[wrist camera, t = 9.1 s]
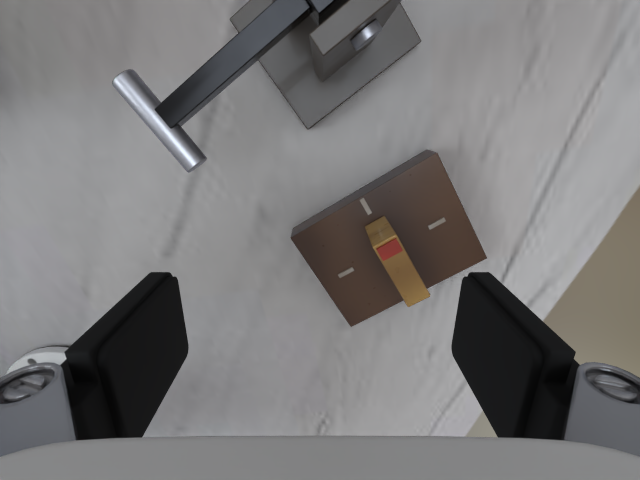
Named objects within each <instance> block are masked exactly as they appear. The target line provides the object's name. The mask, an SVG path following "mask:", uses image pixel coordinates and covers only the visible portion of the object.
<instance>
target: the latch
mask: <svg viewBox="0 0 640 480" xmlns="http://www.w3.org/2000/svg"><path fill="white" fill-rule="evenodd" d="M347 1H348V0H275V1H274V2H273V3H272V4H270V5H269V6H268V7H267V8H266V9H265V10H264V11H263V12H262V13H260V14H259V15H258V16H257V17H256V18H255V19H254V20H253V21H252V22H250V23H249V24H248V25H247V26H246V27H245V28H244V29H243V30H242V31H240V32H239V33H238V34H237V35H236V36H235V37H234V38H233V39H232V40H230V41H229V42H228V43H227V44H226V45H225V46H224V47H223V48H222V49H220V50H219V51H218V52H217V53H216V54H215V55H214V56H213V57H212V58H210V59H209V60H208V61H207V62H206V63H205V64H204V65H203V66H202V67H200V68H199V69H198V70H197V71H196V72H195V73H194V74H193V75H192V76H190V77H189V78H188V79H187V80H186V81H185V82H184V83H183V84H182V85H181V86H179V87H178V88H177V89H176V90H175V91H174V92H173V93H172V94H171V95H169V96H168V97H167V98H166V99H165V100H164V101H163V102H162V103H161V102H160V101H159V100H158V98H157V97H156V96H155V95H154V94H153V92H152V91H151V90H150V89H149V88H148V86H147V85H146V84H145V83H144V82H143V80H142V79H141V78H140V77H139V76H138V74H137V73H136V72H135V71H134V70H132V69H129V70H125V71H123V72H121V73H120V74H118V75H117V76H116V77H115V78H114V80H113V82H112V85H113V86H114V88H115V89H116V90H117V91H118V92H119V93H120V95H121V96H122V97H123V98H124V99H125V100H126V101H127V103H128V104H129V105H130V106H131V107H132V108H133V110H134V111H135V112H136V113H137V114H138V115H139V117H140V118H141V119H142V120H143V121H144V122H145V124H146V125H147V126H148V127H149V128H150V129H151V130H152V132H153V133H154V134H155V135H156V136H157V137H158V139H159V140H160V141H161V142H162V143H163V144H164V146H165V147H166V148H167V149H168V150H169V151H170V152H171V154H172V155H173V156H174V157H175V158H176V159H177V161H178V162H179V163H180V164H181V165H182V166H183V168H184V169H185V170H186V171H187V172H188V173H189V172H191V171H193V170H194V169H196V168H197V167H199V166H200V165H201V164H202V163H204V162H205V161H206V159H207V157H206V156H205V155H204V154H203V153H202V151H201V150H200V149H199V148H198V147H197V145H196V144H195V143H194V142H193V141H192V139H191V138H190V137H189V136H188V135H187V133H186V132H185V131H184V130H183V129H182V127H181V126H182V125H183V124H184V123H186V122H187V121H188V120H189V119H190V118H191V117H193V116H194V115H195V114H196V113H197V112H198V111H200V110H201V109H202V108H203V107H204V106H205V105H206V104H208V103H209V102H210V101H211V100H212V99H213V98H215V97H216V96H217V95H218V94H219V93H220V92H221V91H223V90H224V89H225V88H226V87H227V86H228V85H230V84H231V83H232V82H233V81H234V80H235V79H236V78H238V77H239V76H240V75H241V74H242V73H243V72H245V71H246V70H247V69H248V68H249V67H250V66H251V65H253V64H254V63H255V62H256V61H257V60H258V59H260V58H261V57H262V56H263V55H264V54H265V53H267V52H268V51H269V50H270V49H271V48H272V47H273V46H275V45H276V44H277V43H278V42H279V41H280V40H282V39H283V38H284V37H285V36H286V35H287V34H288V33H290V32H291V31H292V30H293V29H294V28H295V27H297V26H298V25H299V24H300V23H301V22H302V21H303V20H305V19H306V18H307V17H308V16H309V15H311V17H312V18H313V20H314V22H315V23H316V25H317V26H319V25H320V24H321V23H322V22H323V21H325V20H326V19H327V18H328V17H329V16H331V15H332V14H333V13H334V12H335V11H336V10H338V9H339V8H340V7H341V6H342V5H343V4H345V3H346V2H347Z"/></svg>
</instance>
